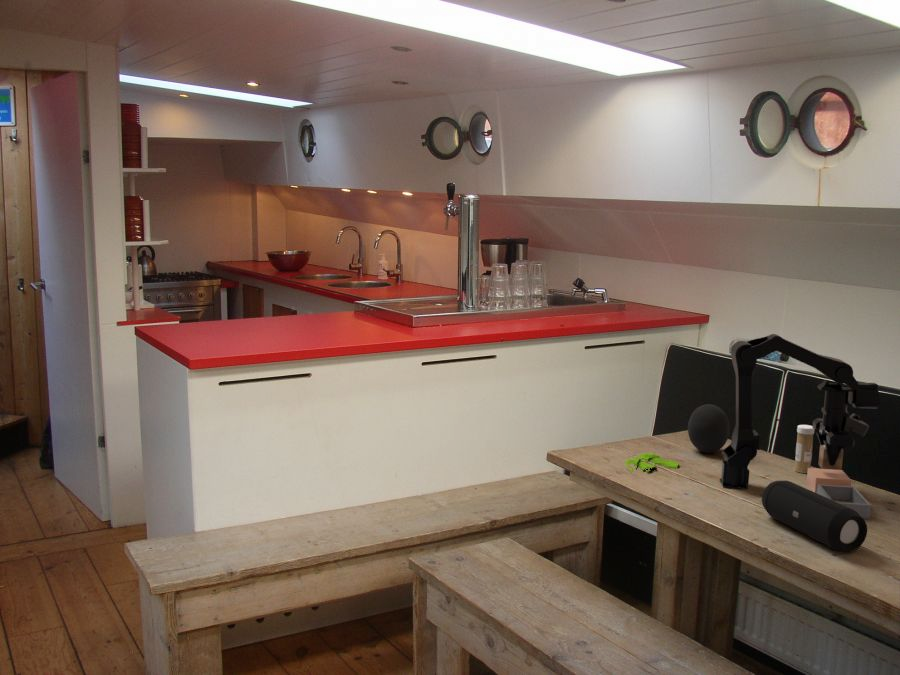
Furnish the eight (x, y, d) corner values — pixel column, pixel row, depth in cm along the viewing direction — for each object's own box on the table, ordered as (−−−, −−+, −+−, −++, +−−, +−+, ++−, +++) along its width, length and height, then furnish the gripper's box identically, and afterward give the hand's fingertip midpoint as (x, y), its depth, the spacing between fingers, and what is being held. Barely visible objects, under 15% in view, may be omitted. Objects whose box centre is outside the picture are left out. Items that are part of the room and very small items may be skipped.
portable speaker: (757, 517, 221) (760, 479, 220) (789, 513, 225) (792, 475, 223) (833, 558, 198) (837, 514, 196) (868, 552, 201) (872, 510, 200)
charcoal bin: (831, 516, 223) (832, 502, 223) (816, 497, 237) (817, 484, 236) (869, 518, 222) (871, 505, 221) (853, 499, 236) (854, 486, 235)
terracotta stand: (814, 494, 239) (816, 478, 239) (806, 483, 248) (807, 467, 247) (849, 496, 238) (851, 480, 237) (840, 485, 247) (841, 469, 246)
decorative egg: (697, 458, 269) (701, 410, 267) (679, 447, 281) (682, 400, 279) (735, 457, 272) (739, 409, 269) (715, 445, 284) (718, 399, 281)
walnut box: (822, 468, 240) (824, 448, 239) (818, 464, 244) (820, 444, 243) (841, 470, 240) (843, 449, 239) (837, 465, 244) (839, 445, 243)
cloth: (651, 453, 276) (651, 446, 275) (704, 473, 257) (705, 465, 257) (600, 462, 265) (600, 454, 265) (652, 484, 247) (652, 475, 247)
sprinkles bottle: (811, 474, 256) (815, 428, 254) (794, 472, 258) (798, 427, 255) (809, 469, 261) (813, 425, 258) (793, 468, 262) (797, 423, 260)
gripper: (878, 417, 229) (872, 475, 232) (856, 400, 247) (851, 454, 250) (832, 414, 231) (827, 472, 233) (814, 398, 249) (809, 452, 251)
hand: (830, 462), depth 242 cm, fingers closed on walnut box, 4 cm apart
